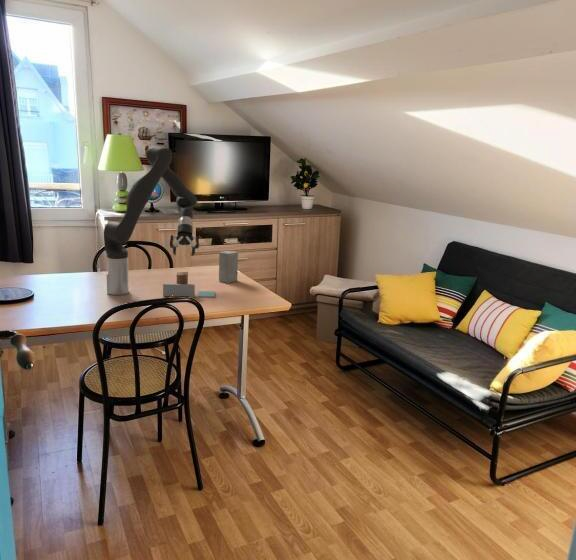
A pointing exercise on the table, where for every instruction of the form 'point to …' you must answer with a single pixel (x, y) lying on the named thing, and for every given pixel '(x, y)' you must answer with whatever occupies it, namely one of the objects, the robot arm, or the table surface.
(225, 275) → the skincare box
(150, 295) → the table surface
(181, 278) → the marked block
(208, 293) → the pad
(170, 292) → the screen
